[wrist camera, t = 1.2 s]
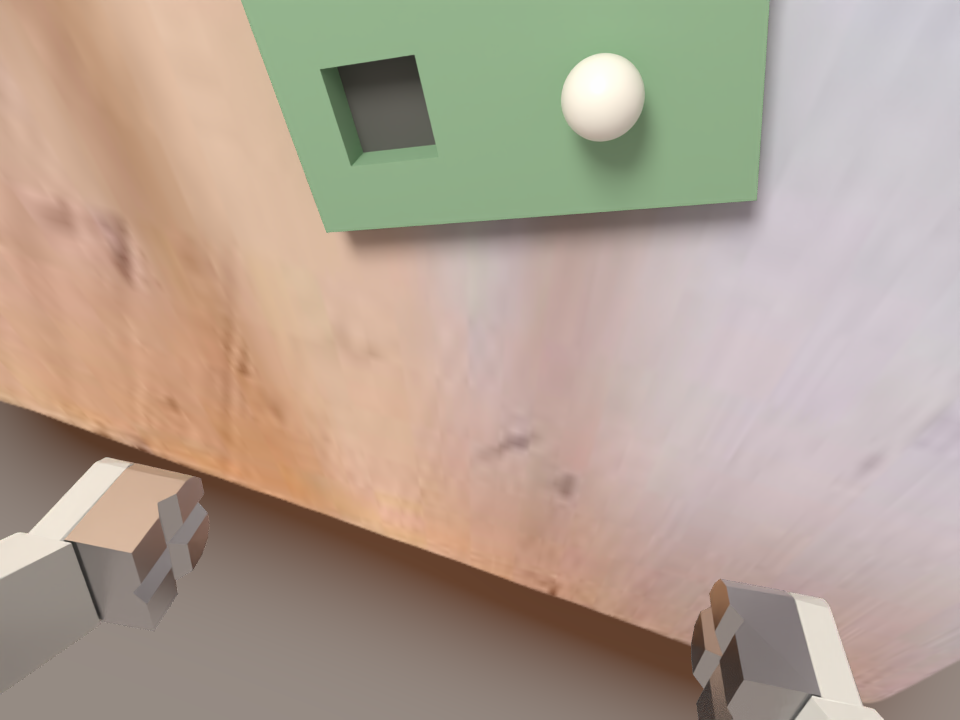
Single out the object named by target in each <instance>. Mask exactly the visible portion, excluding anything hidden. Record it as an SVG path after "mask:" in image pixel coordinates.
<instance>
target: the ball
mask: <svg viewBox="0 0 960 720" xmlns="http://www.w3.org/2000/svg"><path fill="white" fill-rule="evenodd" d="M644 100H645V89H644V83H643V80H642V77H641V75H640V73H639V71H638V70H637V69H636V67H635V66H634V65H633V64H632V63H631V62H630V61H629V60H627V59H626V58H624V57H622V56H620V55H617V54H613V53H599V54H594V55H592V56H589V57H587V58H585V59H583V60H582V61H581V62H579V63H578V64H577V65H576V66H575V67H574V68H573V69H572V70H571V72H570V73H569V75H568V76H567V78H566V80H565V82H564V85H563V89H562V94H561V107H562V112H563V115H564V118H565V120H566V122H567V123H568V125H569V126H570V127H571V129H572V130H573V131H574V132H575V133H577V134H578V135H579V136H581V137H583V138H585V139H588V140H591V141H598V142H602V141H609V140H613V139H616V138H618V137H620V136H622V135H623V134H625V133H626V132H627V131H629V130H630V129H631V128H632V127H633V125H634V124H635V123H636V121H637V120H638V118H639V116H640V114H641V112H642V109H643V105H644Z"/></svg>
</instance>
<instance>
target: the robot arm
mask: <svg viewBox="0 0 960 720" xmlns="http://www.w3.org/2000/svg"><path fill="white" fill-rule="evenodd" d="M203 494H204V491H203V487H202V482H201V479H200V478H197V477H194V476H190V475H186V474H181V473H177V472H172V471H168V470H163V469H159V468H154V467H150V466H146V465H141V464H137V463H131V462H126V461H122V460H117V459H112V458H108V457H106V458H104V459H102V460H100V461H97V462H96V463H94V464H93V465H92V467H91V468H90V469H89V470H88V471H87V472H86V473H85V474H84V475H83V476H82V477H81V478H80V479H79V480H78V481H77V482H76V483H75V484H74V486H73V487H72V488H71V489H70V490H69V491H68V492H67V493H66V494H65V495H64V496H63V497H62V498H61V499H60V500H59V501H58V502H57V504H56V505H55V506H54V507H53V508H52V509H51V510H50V511H49V512H48V513H47V514H46V515H45V516H44V517H43V518H42V519H41V520H40V522H39V523H38V524H37V525H36V526H35V527H34V528H33V529H32V530H31V531H30V532H29V533H21V532H18V533H15V534H14V535H11V536H9V537H7V538H4V539H2V540H0V695H1V694H2V693H3V692H5V691H6V690H8V689H9V688H11V687H12V686H14V685H15V684H16V683H18V682H19V681H21V680H22V679H24V678H25V677H26V676H28V675H29V674H31V673H32V672H34V671H35V670H36V669H38V668H39V667H41V666H42V665H43V664H45V663H46V662H48V661H49V660H51V659H52V658H53V657H55V656H56V655H58V654H59V653H61V652H62V651H64V650H65V649H67V648H68V647H69V646H70V645H72V644H74V643H75V642H77V641H78V640H79V639H81V638H82V637H84V636H85V635H87V634H88V633H89V632H91V631H92V630H94V629H95V628H96V627H98V626H99V625H100V624H101V623H100V621H102V622H107V623H113V624H118V625H124V626H129V627H134V628H140V629H145V630H151V631H155V629H156V627H157V626H158V625H159V623H160V621H161V620H162V618H163V617H164V615H165V614H166V612H167V610H168V609H169V607H170V606H171V604H172V602H173V601H174V599H175V598H176V596H177V595H178V593H177V585H176V580H177V579H179V578H181V577H183V576H184V575H186V574H188V573H189V572H191V571H193V569H194V568H195V566H196V564H197V563H198V561H199V559H200V558H201V556H202V554H203V551H204V548H205V545H206V542H207V539H208V534H209V518H208V513H207V512H206V511H205V510H204V509H203V507H202V506H200V504H199V503H198V501H199V500H200V499H201V497H202V496H203ZM709 595H710V602H711V607H709V608H707V609H705V610H703V611H701V612H700V614H699V616H698V619H697V621H696V623H695V626H694V631H693V637H692V642H691V660H692V668H693V675H694V676H695V677H696V679H697V680H698V681H699V683H700V684H701V686H702V687H703V688H704V690H703V692H702V694H701V695H700V697H699V699H698V701H697V703H696V705H697V712H698V720H884V719H883V718H882V717H881V716H880V715H879V713H878V712H877V711H876V710H875V709H873V708H869V707H865V706H863V704H862V701H861V698H860V695H859V692H858V689H857V686H856V683H855V680H854V677H853V674H852V671H851V668H850V665H849V662H848V659H847V656H846V653H845V650H844V647H843V644H842V641H841V638H840V635H839V633H838V630H837V627H836V624H835V621H834V618H833V615H832V612H831V609H830V606H829V605H828V603H827V602H826V601H825V600H824V599H822V598H817V597H812V596H807V595H801V594H796V593H791V592H786V591H784V590H778V589H773V588H767V587H762V586H756V585H751V584H745V583H740V582H735V581H729V580H724V579H719V580H718V581H717V582H716V583H715V584H714V586H713V587H712V589H711V591H710V593H709Z"/></svg>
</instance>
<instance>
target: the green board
mask: <svg viewBox="0 0 960 720" xmlns="http://www.w3.org/2000/svg"><path fill="white" fill-rule="evenodd" d="M241 1H242V4H243V7H244V10H245V12H246V15H247V18H248V20H249V23H250V26H251V29H252V31H253V34H254V37H255V39H256V42H257V45H258V48H259V50H260V53H261V56H262V58H263V61H264V64H265V67H266V69H267V72H268V75H269V78H270V80H271V83H272V86H273V88H274V91H275V94H276V97H277V99H278V102H279V105H280V107H281V110H282V113H283V116H284V118H285V121H286V124H287V126H288V129H289V132H290V135H291V137H292V140H293V143H294V145H295V148H296V151H297V154H298V156H299V159H300V162H301V164H302V167H303V170H304V173H305V175H306V178H307V181H308V184H309V186H310V189H311V192H312V194H313V197H314V200H315V203H316V205H317V208H318V211H319V213H320V216H321V219H322V222H323V224H324V227H325V230H326V232H327V233H328V232H341V231H354V230H368V229H381V228H394V227H408V226H421V225H434V224H448V223H461V222H475V221H488V220H501V219H515V218H528V217H541V216H555V215H568V214H581V213H595V212H608V211H621V210H635V209H648V208H661V207H675V206H688V205H701V204H715V203H728V202H741V201H755V200H757V188H758V173H759V157H760V142H761V126H762V111H763V95H764V79H765V64H766V48H767V33H768V17H769V2H770V0H241ZM599 53H613V54H617V55H620V56H622V57H624V58H626V59H627V60H629V61H630V62H631V63H632V64H633V65H634V66H635V67H636V69H637V70H638V71H639V73H640V75H641V77H642V80H643V83H644V89H645V100H644V105H643V109H642V112H641V114H640V116H639V118H638V120H637V121H636V123H635V124H634V125H633V127H632V128H631V129H630V130H629V131H627V132H626V133H625V134H623V135H622V136H620V137H618V138H616V139H613V140H609V141H602V142H598V141H591V140H588V139H585V138H583V137H581V136H579V135H578V134H577V133H575V132H574V131H573V130H572V129H571V127H570V126H569V125H568V123H567V122H566V120H565V118H564V115H563V112H562V107H561V94H562V89H563V85H564V82H565V80H566V78H567V76H568V75H569V73H570V72H571V70H572V69H573V68H574V67H575V66H576V65H577V64H578V63H579V62H581V61H582V60H583V59H585V58H587V57H589V56H592V55H594V54H599Z"/></svg>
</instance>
